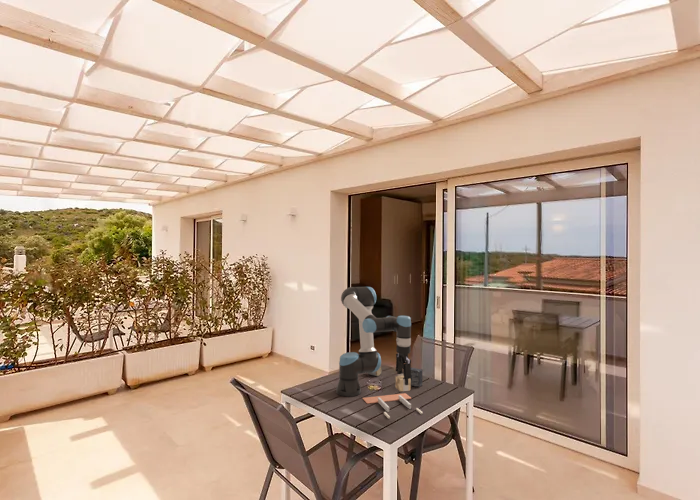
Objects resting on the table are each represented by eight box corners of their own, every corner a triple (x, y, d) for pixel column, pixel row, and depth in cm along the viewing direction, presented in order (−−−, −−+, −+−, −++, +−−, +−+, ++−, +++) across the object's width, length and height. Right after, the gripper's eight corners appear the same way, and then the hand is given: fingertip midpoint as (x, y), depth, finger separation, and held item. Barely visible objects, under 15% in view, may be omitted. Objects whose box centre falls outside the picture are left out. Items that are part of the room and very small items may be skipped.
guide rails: (377, 401, 210) (377, 397, 210) (400, 399, 214) (400, 395, 214) (387, 411, 196) (387, 407, 196) (411, 408, 201) (411, 404, 201)
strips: (383, 413, 194) (383, 412, 194) (417, 409, 200) (417, 407, 200) (388, 418, 188) (388, 416, 188) (422, 414, 194) (422, 412, 194)
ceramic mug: (376, 377, 252) (376, 366, 252) (366, 375, 257) (366, 364, 257) (384, 374, 261) (384, 363, 261) (374, 372, 266) (374, 361, 266)
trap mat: (362, 398, 214) (362, 397, 214) (405, 393, 223) (405, 393, 223) (367, 403, 207) (367, 403, 207) (411, 398, 215) (411, 398, 215)
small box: (422, 385, 239) (423, 369, 239) (419, 388, 233) (419, 371, 233) (408, 382, 244) (408, 366, 244) (404, 384, 239) (404, 368, 239)
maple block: (395, 387, 197) (395, 376, 197) (405, 386, 199) (405, 375, 199) (400, 391, 191) (400, 380, 191) (410, 390, 193) (410, 379, 193)
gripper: (390, 341, 203) (389, 382, 203) (404, 350, 185) (404, 395, 185) (402, 340, 205) (401, 381, 205) (418, 349, 187) (417, 394, 187)
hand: (402, 388), depth 195 cm, fingers closed on maple block, 6 cm apart
